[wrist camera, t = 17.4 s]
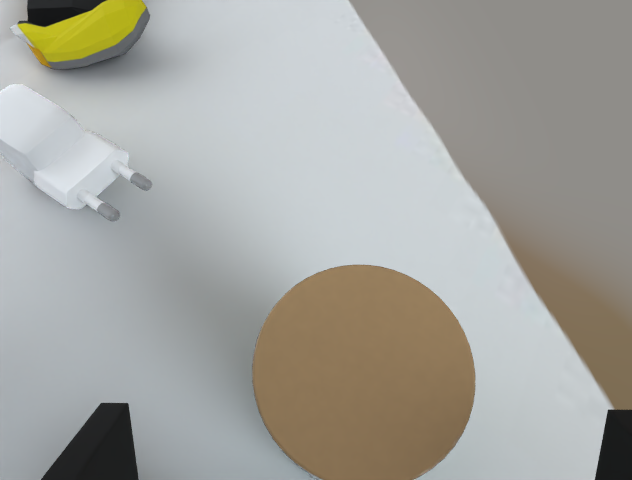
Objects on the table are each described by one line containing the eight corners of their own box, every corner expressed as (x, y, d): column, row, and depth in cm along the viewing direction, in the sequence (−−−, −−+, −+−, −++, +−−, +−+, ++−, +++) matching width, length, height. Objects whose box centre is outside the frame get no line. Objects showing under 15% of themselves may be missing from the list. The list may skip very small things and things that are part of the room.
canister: (257, 435, 23) (205, 389, 14) (333, 330, 26) (335, 229, 16) (369, 528, 21) (400, 549, 12) (440, 404, 24) (514, 338, 14)
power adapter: (179, 205, 30) (149, 145, 25) (125, 260, 28) (80, 207, 23) (66, 134, 34) (20, 69, 29) (11, 179, 32) (-49, 117, 27)
